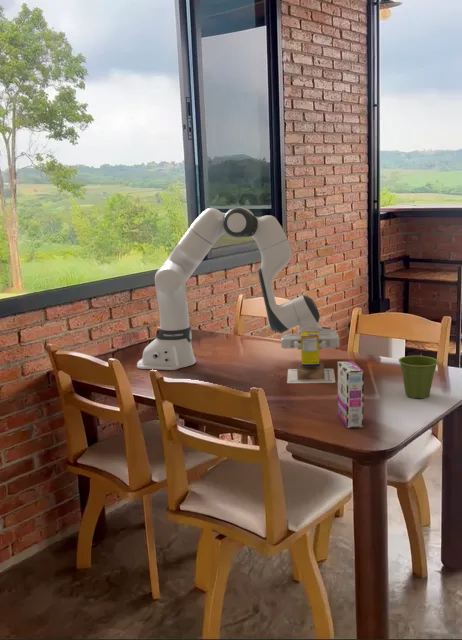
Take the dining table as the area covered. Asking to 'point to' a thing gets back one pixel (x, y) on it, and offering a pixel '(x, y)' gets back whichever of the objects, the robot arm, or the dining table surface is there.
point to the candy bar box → (350, 394)
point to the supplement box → (310, 348)
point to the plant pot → (418, 375)
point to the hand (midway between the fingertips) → (310, 347)
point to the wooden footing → (310, 372)
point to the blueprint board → (328, 378)
